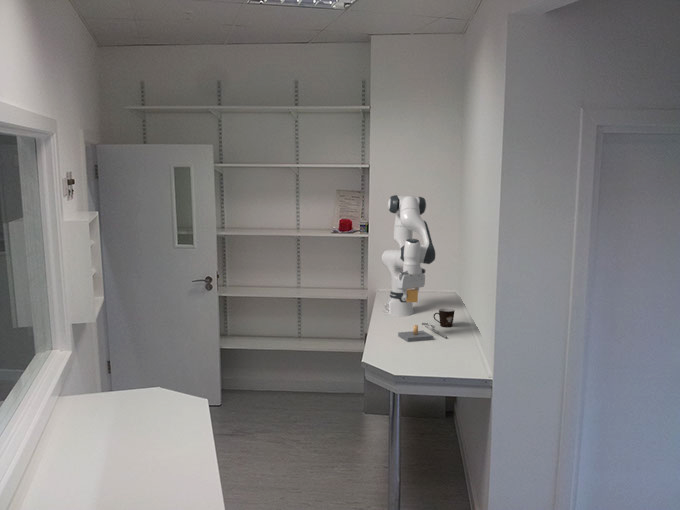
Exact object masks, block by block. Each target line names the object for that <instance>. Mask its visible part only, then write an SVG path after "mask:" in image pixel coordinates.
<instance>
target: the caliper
mask: <svg viewBox="0 0 680 510" xmlns="http://www.w3.org/2000/svg"><path fill="white" fill-rule="evenodd" d="M421 324H422V326H425V327H426V328H428V329H429V330H430V331H433V332H434V333H436V334H437V335H439V336H441V337H442V338H444V339H448V336H446V335H445V334H443V333H441V332H440V331H438V330H436V329H435V326H434V325H432V324H428V322H421ZM425 324H426V325H425Z"/></svg>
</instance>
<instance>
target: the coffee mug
mask: <svg viewBox="0 0 680 510" xmlns="http://www.w3.org/2000/svg"><path fill="white" fill-rule="evenodd" d="M436 315H439V320H438V319H437V318H436V317H435V316H436ZM454 317H455V309H454V308H450V307H449V308H447V307H444V308H443V307H442V308H439V309H438V312H434V313H433V318H434V320H435V321H437V322H438V323H439V326H440V327H441V328H452V327H453V326H454Z"/></svg>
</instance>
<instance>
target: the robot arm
mask: <svg viewBox="0 0 680 510" xmlns="http://www.w3.org/2000/svg"><path fill="white" fill-rule="evenodd" d="M387 209H388V211H389V212H390V213H392V214H395V217H394V224H393V225H394V226H393V236H392V237H393V241H395V242H396V243H397V245H398V246H399V249H395V248H394V249H392V248H391V249H386V250H384V251H383V252H382V254H381V263H382V264H383V265H384V267H385V268H386V269H387V272H388V273H389V276H390V283H391V284H390V286H391V287H390V292H389V298H388V299H387V300H386V301H385V302H384V303H383V307H384V309H383V310H382V312H383V313H384V315H385V316H391V317H398V318H399V317H400V318H404V317H410V316H412V315H413V314H414V313H415V311H414V309H413V307H414V306H413V305H414V303H413V302H406V300H407V298H408V294H407V289H418V292H419V291H420V288H424V286H425V284H426V271H427V270H426V269H425V268H423V267H422V266H421V264H425V265H430V264H432V263H433V262H434V261H435V260H436V254H437V253H436V250H435V247H434V244H433V241H432V238H431V234H430V231H429V230H430V229H429V226H428V223H427V221H426V220H424V219H423V217H421V215H423V214H424V213H425V211H426V209H427V202H426V199H425V198H424V197H422V196H416V195H397V194H396V195H392V196H390V197H389V199H388V201H387ZM413 232H414V233H415V232H416V233H417V234H418V235H420V236H421V238H422V242H423V244H421V241H420V239H418V238H413Z"/></svg>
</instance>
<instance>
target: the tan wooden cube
mask: <svg viewBox="0 0 680 510" xmlns="http://www.w3.org/2000/svg"><path fill="white" fill-rule="evenodd" d="M418 293H419V291H418V289H414V288H412V289H407V294H408V298H407V300H406V302H412V303H418V297H419V296H418V295H419V294H418Z"/></svg>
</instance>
